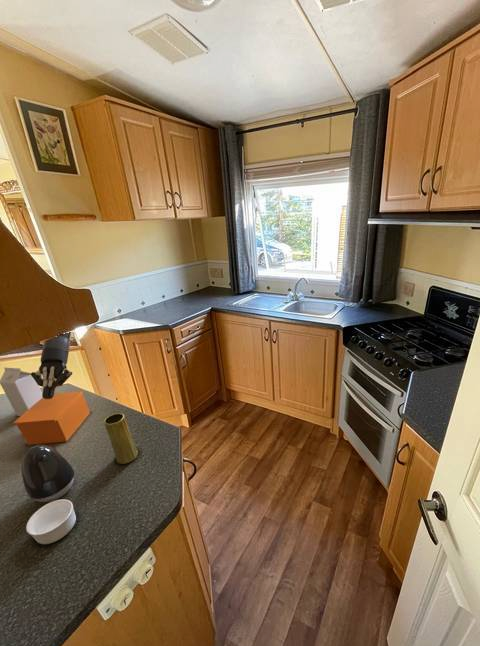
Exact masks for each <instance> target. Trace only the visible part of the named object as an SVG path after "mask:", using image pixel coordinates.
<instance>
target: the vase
mask: <svg viewBox="0 0 480 646" xmlns="http://www.w3.org/2000/svg"><path fill="white" fill-rule="evenodd" d="M103 425H104V426H105V429H106V432H107V434H108V437H109V441H110V444H111V447H112V449H113V453H114V455H115V461H116V463H117V464H121V465H125V464H129V463H131V462H133V461H134V460H135V459H136V458H137V457H138V455H139V451H138V448H137V446H136V444H135V442H134V439H133V437H132V434H131V431H130V429H129V425H128V422H127V420H126V416H125V414H124V413H121V412H115V413H112V414H110V415H108V416H106V417H105V418H104V420H103Z"/></svg>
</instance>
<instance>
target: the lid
mask: <svg viewBox="0 0 480 646" xmlns="http://www.w3.org/2000/svg"><path fill="white" fill-rule="evenodd" d="M81 394H83V391H72V392H70V391H69V392H59V393H54V396H53V397H52V399H44V398H43V397H42V398H41V399H40V400H39V401H38V402H37V403H35V404H34V405H33V406H32V407H31V408H30V409H29V410H27V411H26V412H25V413H24V414H23V415H22V416H18V418H17V419H16V420H15V421H13V422H12V425H13V426H17V425H20V424H33V423H45V422H56V420H57V419H58V418H59V417H60V416H61V415H62V414H63V413H64V412H65V411H66V410H67V409H68V408H69V407H70V406H71V405H72V404H73V403H74V402H75V400H76V399H77V398H78V397H79V396H80V395H81Z"/></svg>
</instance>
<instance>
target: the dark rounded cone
mask: <svg viewBox="0 0 480 646" xmlns="http://www.w3.org/2000/svg"><path fill="white" fill-rule="evenodd" d="M21 476H22V478H21V479H22V482H23V483H22V484H23V486H24V490H25V492H26V495H27V496H28V497H29V498H31V499H33V500H35V501H36V502H40V503H50V502H53V501H56V500H59V499H60V498H61V497H63V496H64V495H66V494H67V493H68V492H69V491H70V489H71V488H72V485H73V483H74V479H75V478H74V477H75V471H74V468H73V467H72V465H71V464H70V462H69V461H68V460H67V459H66V458H65V457H64V456H63V455H62V454H61V453H59V451H58V450H55V449H54V448H52V447H51V446H48V445H46V444H36V445H34V446H31V447H30V448H28V449H27V451H26V452H25V453H24V454H23V457H22V461H21Z"/></svg>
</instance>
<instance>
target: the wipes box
mask: <svg viewBox="0 0 480 646" xmlns="http://www.w3.org/2000/svg"><path fill="white" fill-rule="evenodd" d="M90 414H91V412H90V409H89V407H88V404H87V402H86V399H85V397H84V394H83V393H82V394H81V395H80V396H79V397H78V398H77V399H76V400H75V402H74V403H73V404H72V405H71V406H70V407H69V408H68V409H67V410H66V411H65V412H64V413H63V414H62V415H61V416H60V417H59V418H58V419H57V420H56V422H45V423H33V424H20V425H16V427H18V430H19V431H20V433H21V436H22V437H23V439H24V441H25V443H26V444H27V445H28V446H29V445H43V444H52V443H54V444H55V443H64V442H68V441H69V440H70V438H71V437H72V436H73V435H74V434H75V433H76V432H77V430H78V429H79V427H80V426H81V425H82V424H83V423H84V422H85V420H86V419H87V418H88V416H89V415H90Z"/></svg>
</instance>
